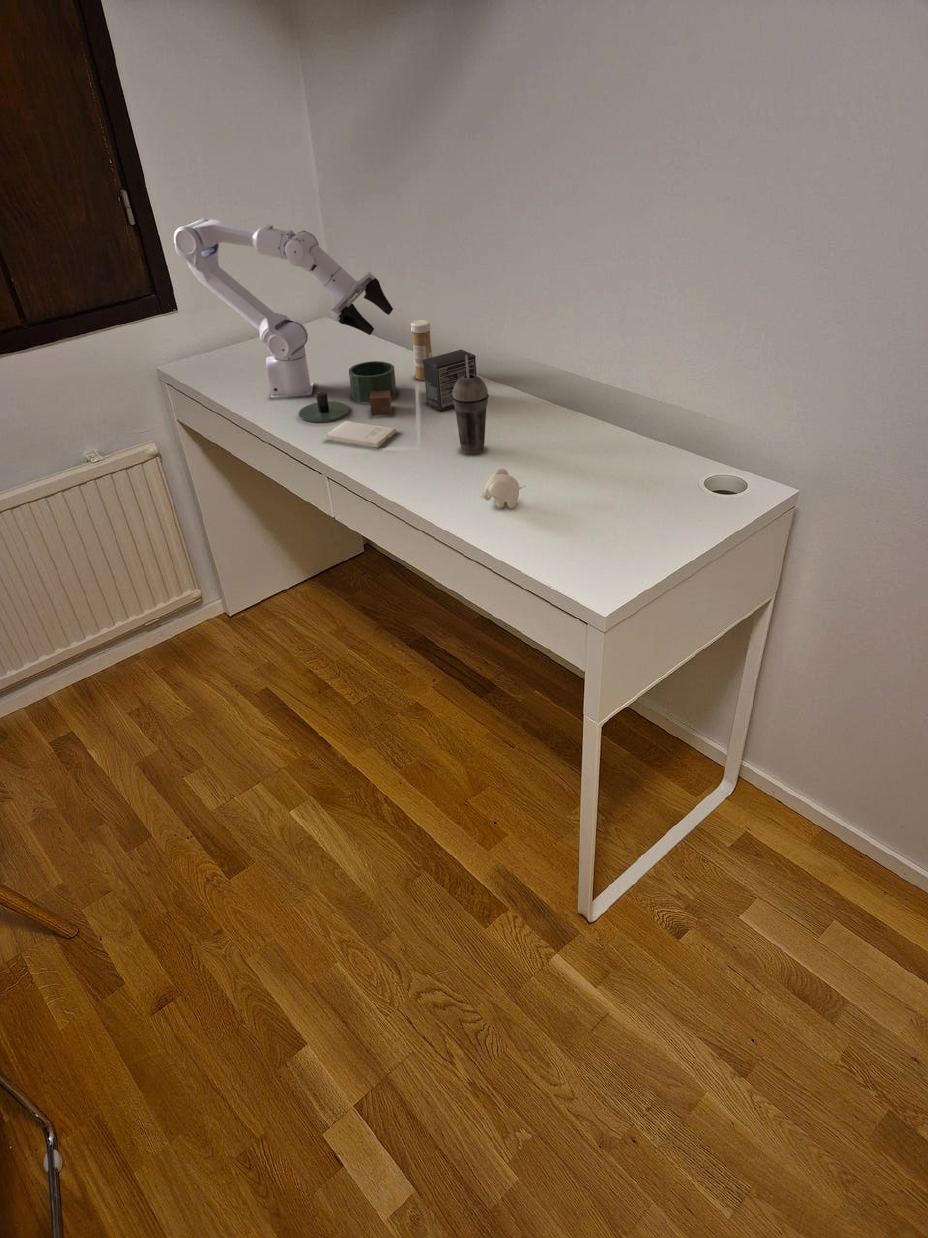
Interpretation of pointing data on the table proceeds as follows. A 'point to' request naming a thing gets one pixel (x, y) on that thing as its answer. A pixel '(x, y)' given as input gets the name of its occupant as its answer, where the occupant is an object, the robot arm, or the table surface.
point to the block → (380, 402)
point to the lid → (323, 410)
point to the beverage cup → (470, 411)
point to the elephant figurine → (502, 489)
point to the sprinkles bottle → (421, 345)
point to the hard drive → (360, 434)
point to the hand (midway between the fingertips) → (381, 321)
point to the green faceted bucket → (371, 379)
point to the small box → (445, 376)
